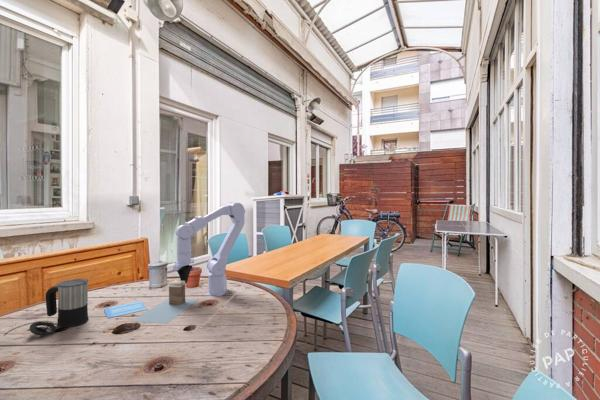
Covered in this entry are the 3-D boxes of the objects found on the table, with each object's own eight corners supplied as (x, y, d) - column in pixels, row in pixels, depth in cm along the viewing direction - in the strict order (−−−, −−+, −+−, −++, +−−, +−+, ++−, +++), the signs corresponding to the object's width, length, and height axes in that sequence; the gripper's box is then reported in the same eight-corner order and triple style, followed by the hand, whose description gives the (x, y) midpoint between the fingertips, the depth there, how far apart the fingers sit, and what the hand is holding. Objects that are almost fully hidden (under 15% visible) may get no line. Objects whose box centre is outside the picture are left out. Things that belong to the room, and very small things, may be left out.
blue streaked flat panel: (141, 303, 128) (141, 300, 128) (147, 312, 119) (147, 308, 119) (103, 311, 120) (103, 308, 120) (107, 321, 110) (107, 317, 110)
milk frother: (93, 316, 114) (92, 277, 114) (75, 334, 99) (75, 290, 99) (48, 320, 110) (47, 280, 109) (23, 340, 95) (22, 294, 94)
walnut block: (174, 301, 128) (174, 280, 128) (185, 301, 127) (185, 280, 127) (169, 304, 124) (168, 283, 124) (180, 305, 123) (180, 283, 123)
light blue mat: (168, 299, 132) (168, 298, 132) (198, 300, 130) (198, 299, 130) (131, 322, 108) (131, 321, 108) (167, 324, 106) (167, 323, 106)
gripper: (184, 249, 139) (184, 277, 139) (166, 255, 125) (166, 287, 125) (198, 249, 138) (198, 278, 138) (181, 255, 124) (182, 288, 124)
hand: (184, 282), depth 132 cm, fingers closed
